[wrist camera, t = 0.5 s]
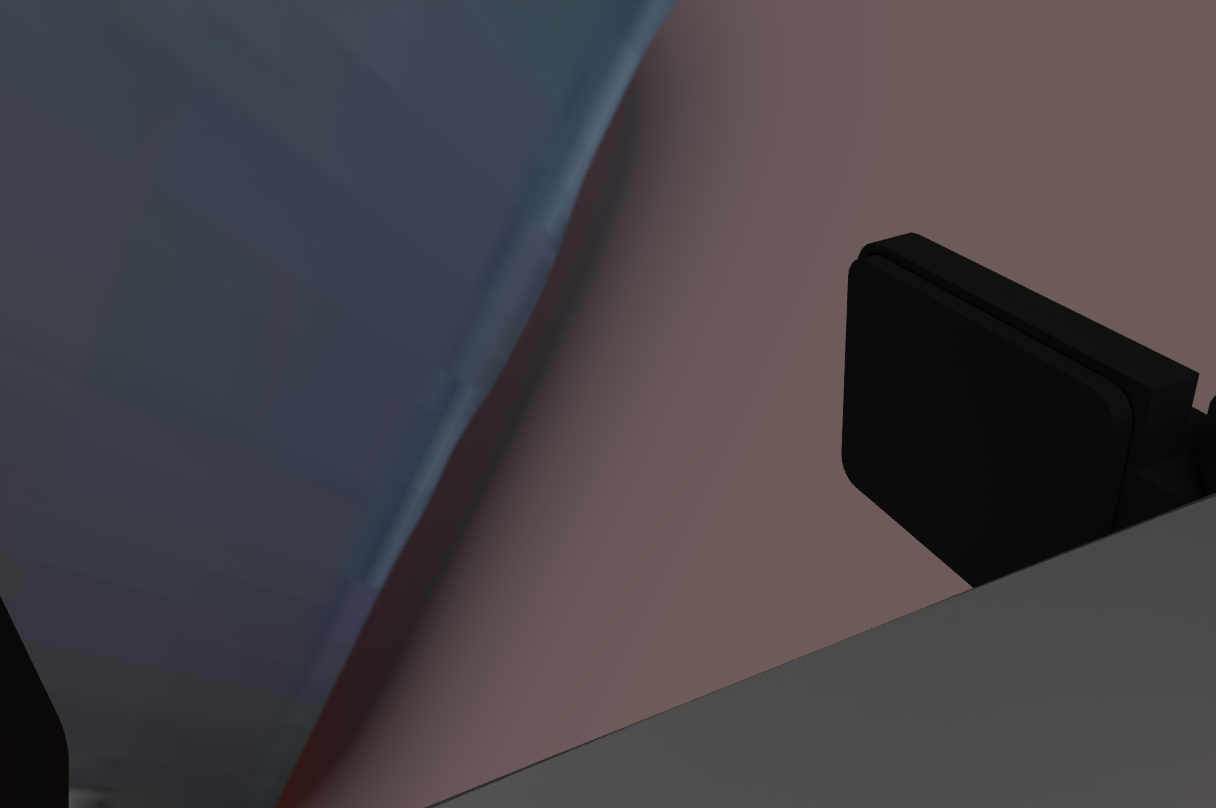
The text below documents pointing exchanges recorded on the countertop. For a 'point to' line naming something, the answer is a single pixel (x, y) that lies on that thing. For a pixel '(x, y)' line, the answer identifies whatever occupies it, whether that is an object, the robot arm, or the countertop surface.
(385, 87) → the countertop surface
